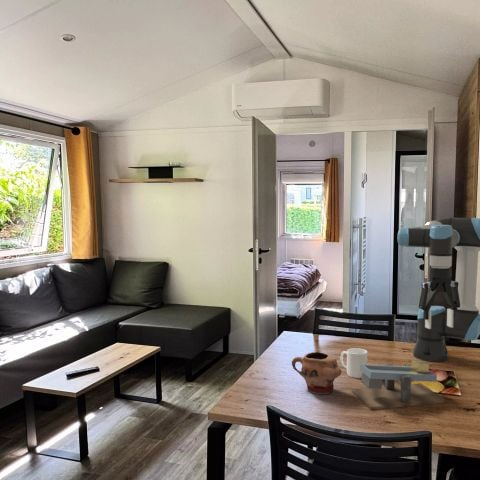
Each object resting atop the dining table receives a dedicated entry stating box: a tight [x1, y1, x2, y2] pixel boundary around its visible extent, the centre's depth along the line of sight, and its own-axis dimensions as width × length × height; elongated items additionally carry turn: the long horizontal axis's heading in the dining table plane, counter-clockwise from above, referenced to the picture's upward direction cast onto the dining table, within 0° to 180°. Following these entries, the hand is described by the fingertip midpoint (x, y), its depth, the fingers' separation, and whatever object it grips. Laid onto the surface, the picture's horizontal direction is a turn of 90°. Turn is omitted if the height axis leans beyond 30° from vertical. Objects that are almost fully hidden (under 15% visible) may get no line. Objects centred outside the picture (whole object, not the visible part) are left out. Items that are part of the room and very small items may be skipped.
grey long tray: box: [360, 363, 438, 389], centre depth 176 cm, size 26×9×6 cm, turn 101°
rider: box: [410, 359, 430, 374], centre depth 178 cm, size 4×4×4 cm
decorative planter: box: [291, 351, 342, 395], centre depth 184 cm, size 20×12×14 cm, turn 65°
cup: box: [339, 347, 368, 379], centre depth 201 cm, size 8×12×10 cm
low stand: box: [351, 364, 447, 411], centre depth 177 cm, size 29×16×10 cm, turn 100°
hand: (439, 327), depth 178 cm, fingers open, 8 cm apart
